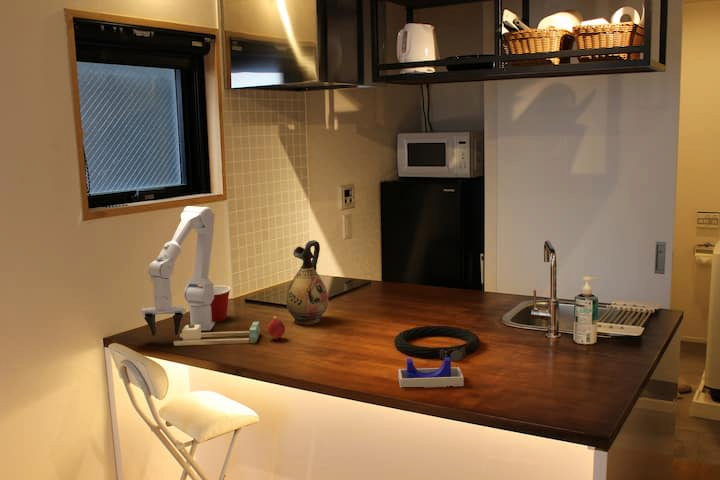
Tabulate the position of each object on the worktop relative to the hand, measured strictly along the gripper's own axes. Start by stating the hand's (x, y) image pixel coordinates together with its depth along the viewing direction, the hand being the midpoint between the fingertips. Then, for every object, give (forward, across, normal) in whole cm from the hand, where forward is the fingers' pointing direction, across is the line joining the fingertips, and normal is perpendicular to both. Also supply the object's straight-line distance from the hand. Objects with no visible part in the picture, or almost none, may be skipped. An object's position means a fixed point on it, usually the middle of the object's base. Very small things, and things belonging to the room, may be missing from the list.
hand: (165, 334), depth 243 cm
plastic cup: (+3, +13, +26) cm, 29 cm away
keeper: (+2, +9, 0) cm, 9 cm away
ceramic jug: (+3, +48, +20) cm, 52 cm away
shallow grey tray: (+2, +85, -47) cm, 97 cm away
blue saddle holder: (+3, +85, -46) cm, 96 cm away
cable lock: (+3, +91, -16) cm, 92 cm away
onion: (+3, +38, -2) cm, 38 cm away
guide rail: (+2, +18, 0) cm, 18 cm away
